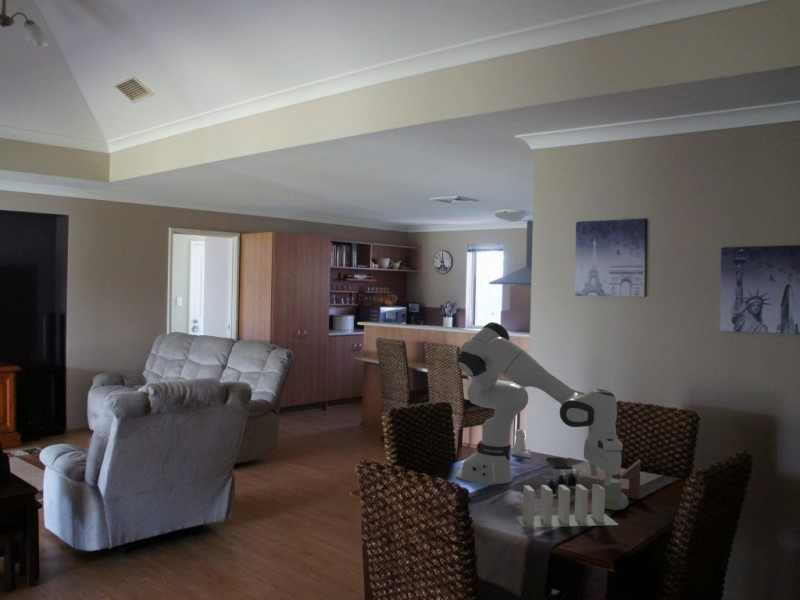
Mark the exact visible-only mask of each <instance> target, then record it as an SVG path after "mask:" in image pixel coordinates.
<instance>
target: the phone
mask: <svg viewBox="0 0 800 600" xmlns="http://www.w3.org/2000/svg"><path fill="white" fill-rule="evenodd" d="M546 461H547V463H549V465H551V466H552V468H553V469H559V470H560V469H561V470H563V469H564V470H571V469H572V468H573V466H572V465H571V464H570V463H569V462H568V461H567V460H566V459H565V458H564V457H546Z"/></svg>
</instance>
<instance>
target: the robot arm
mask: <svg viewBox="0 0 800 600" xmlns="http://www.w3.org/2000/svg"><path fill="white" fill-rule="evenodd" d="M509 335H510V334H509V332H508V331H507V329H506V328H505V327H504V326H503V325H501V324H500V323H498V322H493V321H491V322H488V323H486V324H485V325H484V326H482V328H481V329H480V330H479V331H478V332H476V333H475V335H474V336H473V337H472V338H471V339H469V340H466V341H465V342H464V343H463V344H462V345H461V347H460V351H459V354H458V356H457V358H456V363H457V366H458V367H459V369H460V370H461V371H462V372H463V373H464V374H466V375H467V376H469V377H470V379H471V380H472V382H470V384H469V385H468V388H467V398H468V400H469V401H470V403H471V404H474V405H476V406H478V407H481V408H487V409H493V410H494V414H493V416H492V417H490V418H488V419H486V420H485V421H484V422H483V424H482V431H481V440H479V441H478V443H477V444H476V448H475V449H476V451H475V452H473V453H472V454H471V455H470V456H467V458H465V459H464V460H463V463H462V466H461V469H459V470H458V471H457V472H456V473H455V478H456V479H459V480H462V481H464V480H465V481H469V482H473V483H478V484H484V485H488V486H494V485H501V484H509V483H511V482H513V480H514V479H513V475H512V469H511V457H512V446H511V445H512V444H511V433H512V432H511V431H512V430H511V429H512V424H513V422H514V420H515V418H516V416H517V415H518V414H519V413H520V412H522V411H523V410H525V409H526V407H527V405H528V403H529V392H527V389H526V388H525V387H529V388H530V387H531V388H536V389H539V390H541V391H543V392H544V393H546V394H547V395H548V396H550V397H551V398H552V399H553V400H555V401H556V402H558V403H559V404H560V405H561V406H560V408H559V417H560V420H561V421H562V422H563V423H564V424H565V425H566V426H568V427H569V428H570V427H571V428H581V427H587V428H588V429H587V433H588V434H587V437H586V438H585V440H584V445H583V446H584V447H583V458H584V459H585V461H587V462H589V464H588V465H589V468H590V476H592V477H598V473H599V472H598V470H597V468H599V469H600V470H601V471H603V472H604V475H605V476H604V478H603V479H602V480H603V482H602V483H603V485H604V484H605V485H610V484H611V479H612V476H613V475H618V474H619V473H620V474H621V469H622V468H621V467H622V451H623V446H624V445H623V443H622V442H621V440H620V439H619V438H618V436H617V427H616V421H617V419H618V417H617V415H618V406H617V405H618V404H617V398H616V395H614V393H613V392H611V391H608V390H606V389H601V388H593V389H592V390H590V391H589V392H586V393H585V392H582V391H577V390H575V389H573V388H570V387H569V386H567V385H566V384H565V383H564V382H562V381H561V380H560V379H558V377H557V378H556V377H555V376H554V375H552V374H551V373H550V372H549V371H547V370H546V368H544V367H543V366H541V364H540V363H539V362H538V361H537V360H535V358H533V357H532V356H531V355H530V354H529V353H528V352H527V351H525V350H524V349H522V348H521V347H520V346H518V345H517V344H515V343H514V342H512V341H510V336H509ZM500 373H501V375H503V376H504V377H505V378H507V379H508V380H509V381H511V382H513V383H511V382H504V381H498V380H499V378H500ZM620 450H621V452H620Z"/></svg>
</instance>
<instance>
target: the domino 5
mask: <svg viewBox="0 0 800 600" xmlns="http://www.w3.org/2000/svg"><path fill="white" fill-rule="evenodd" d="M591 492H592V493H591V517H592V518H594V519H595V520H596V521H597V522H598V523H603V522H604V514H605V508H604V505H605V489H604V486H601V485H600V484H599V483H592V489H591Z"/></svg>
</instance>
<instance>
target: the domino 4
mask: <svg viewBox="0 0 800 600" xmlns="http://www.w3.org/2000/svg"><path fill="white" fill-rule="evenodd" d="M588 494H589V489H588V488H586V487H585V486H584V485H582V484H575V493H574V495H575V497H574V515H575V518H576V519H577V520H578V521H579V522H581V523H587V515H588V502H589V501H588V498H589V495H588Z"/></svg>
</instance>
